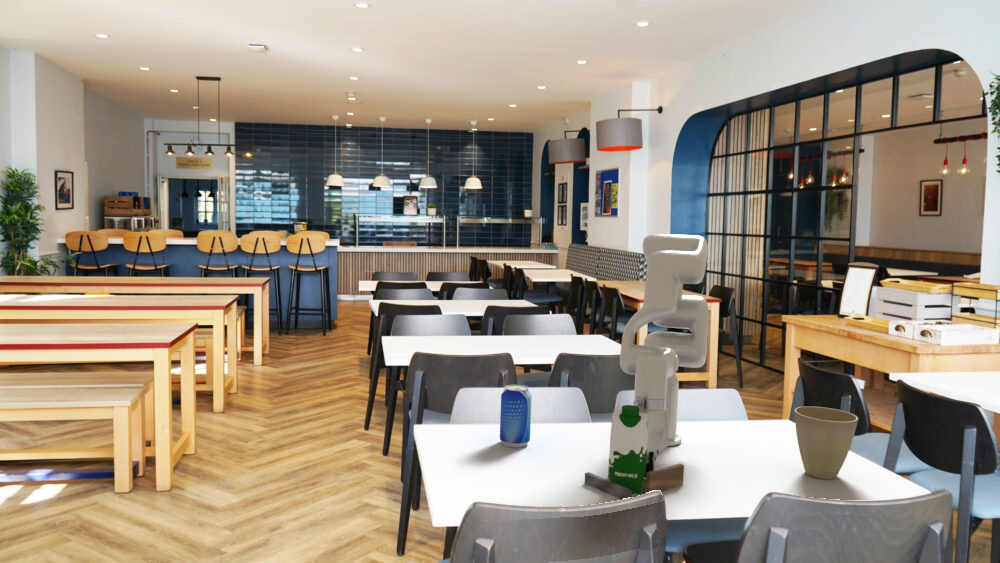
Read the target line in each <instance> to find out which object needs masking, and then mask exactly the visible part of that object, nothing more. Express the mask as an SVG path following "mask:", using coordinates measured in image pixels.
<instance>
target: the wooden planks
mask: <svg viewBox="0 0 1000 563" xmlns="http://www.w3.org/2000/svg"><path fill="white" fill-rule="evenodd" d="M607 467H608V468H607V470H608V471H607V473H608V475H607V479H606V478H603V477H602V476H599V475H597V474H594V473H592V472H590V471H587V472H584V484H586V485H588V486H591V487H593V488H595V489H598V490H600V491H601V492H604V493H605V494H608V495H611V496H613V497H615V498H618V499H620V500H622V499H623V498H628V497H631V498H632V494H633V493H632V490H630V489H628V488H625V487H623V486H621V485H618V484H616V483H614V482H611V481H610V473H609V466H607ZM684 473H685V464H683V463H676V464H673V465H669V466H665V467H662V468H659V469H653V471H650V472H647V473H646V478H645V492H649V491H652V490H661V492H663V491H667V490H671V489H675V488H677V487H680V486H683V485H684ZM608 479H609V480H608Z"/></svg>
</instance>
